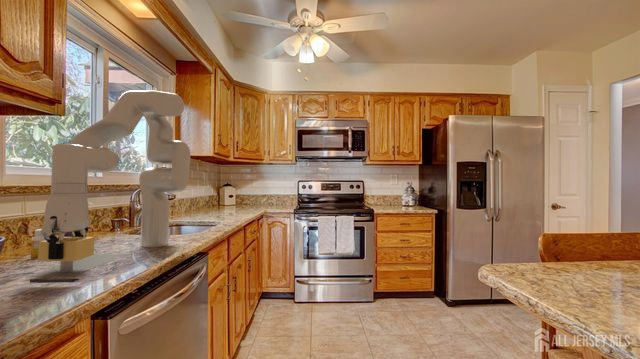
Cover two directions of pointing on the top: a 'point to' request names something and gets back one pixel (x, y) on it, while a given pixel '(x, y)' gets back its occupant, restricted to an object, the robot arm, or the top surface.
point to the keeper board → (74, 268)
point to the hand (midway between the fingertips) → (67, 254)
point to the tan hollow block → (69, 249)
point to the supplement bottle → (36, 243)
